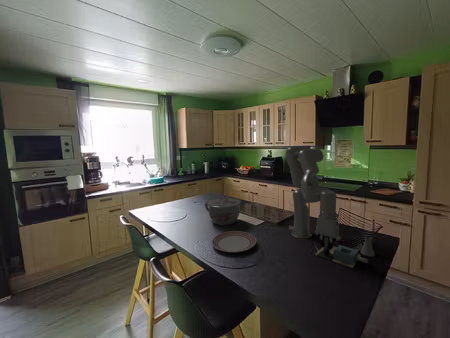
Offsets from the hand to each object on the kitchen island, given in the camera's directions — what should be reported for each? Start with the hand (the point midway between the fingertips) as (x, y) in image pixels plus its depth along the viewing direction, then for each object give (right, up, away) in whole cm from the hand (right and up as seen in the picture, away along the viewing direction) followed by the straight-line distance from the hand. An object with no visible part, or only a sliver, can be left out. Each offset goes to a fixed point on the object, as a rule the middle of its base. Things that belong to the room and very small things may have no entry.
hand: (326, 247), depth 111 cm
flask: (+23, -5, +2) cm, 24 cm away
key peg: (0, -3, 0) cm, 3 cm away
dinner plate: (-48, -6, +19) cm, 52 cm away
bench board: (+7, -5, +1) cm, 9 cm away
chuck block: (+10, -5, -4) cm, 12 cm away
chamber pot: (-54, -1, +56) cm, 78 cm away
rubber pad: (0, -5, 0) cm, 5 cm away
